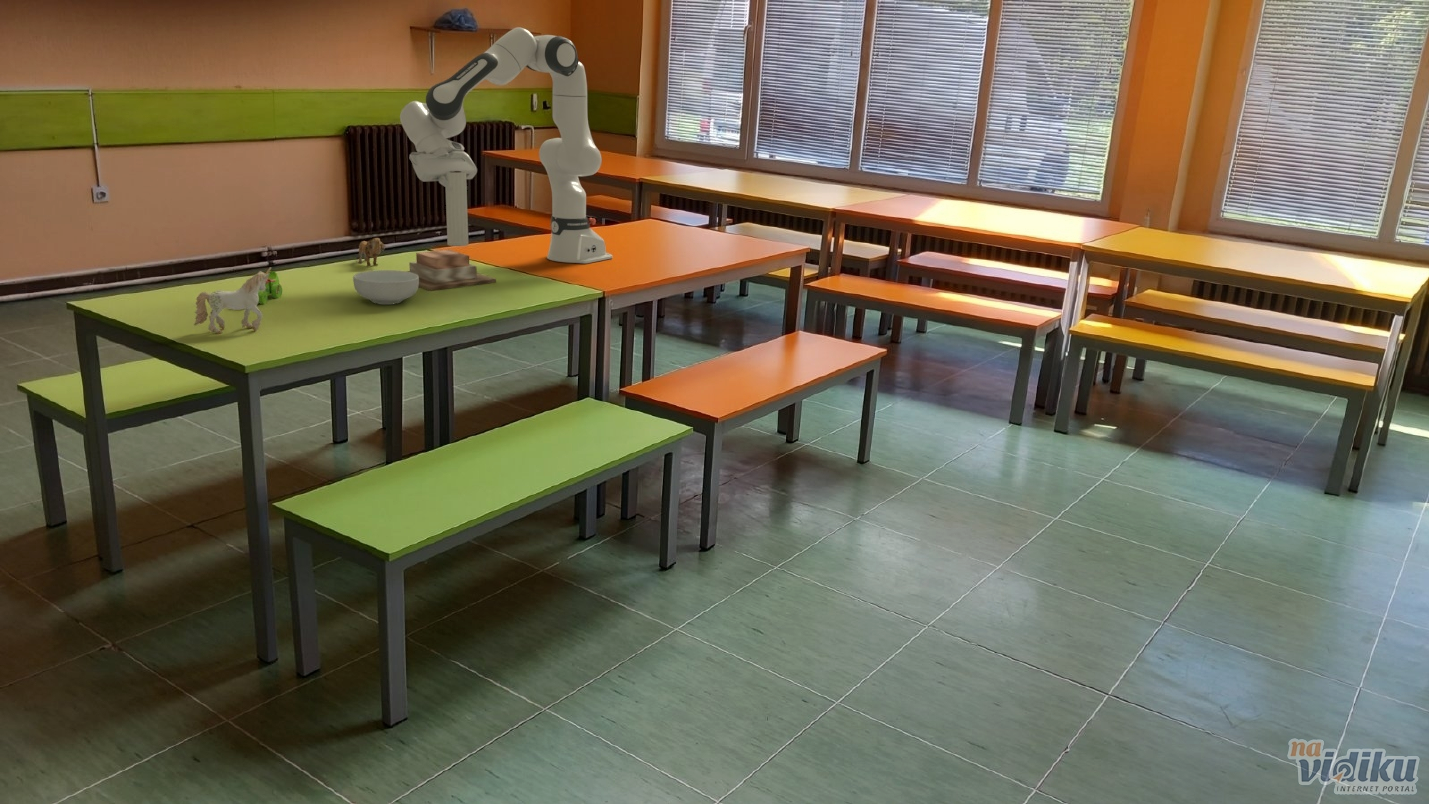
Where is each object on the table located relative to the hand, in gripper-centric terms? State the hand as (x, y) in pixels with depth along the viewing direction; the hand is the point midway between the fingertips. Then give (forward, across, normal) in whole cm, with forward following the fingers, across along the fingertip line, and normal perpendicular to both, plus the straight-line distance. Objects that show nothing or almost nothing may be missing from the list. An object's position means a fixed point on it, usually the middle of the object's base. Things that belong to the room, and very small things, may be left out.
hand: (458, 189), depth 304 cm
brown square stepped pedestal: (+16, -3, +21) cm, 27 cm away
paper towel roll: (+12, +1, +12) cm, 16 cm away
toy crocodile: (+10, -55, +30) cm, 64 cm away
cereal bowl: (+25, -32, +14) cm, 43 cm away
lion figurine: (-5, -5, +43) cm, 44 cm away
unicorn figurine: (+24, -75, +16) cm, 80 cm away
